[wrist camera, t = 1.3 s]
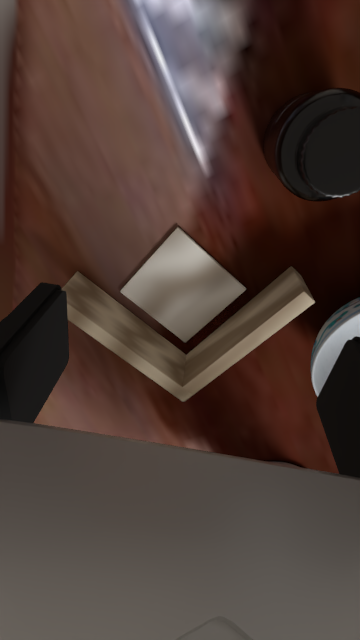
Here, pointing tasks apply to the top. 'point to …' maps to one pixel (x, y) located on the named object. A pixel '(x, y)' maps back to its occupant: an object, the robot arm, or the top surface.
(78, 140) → the top surface
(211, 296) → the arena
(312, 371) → the chinaware
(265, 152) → the supplement bottle
